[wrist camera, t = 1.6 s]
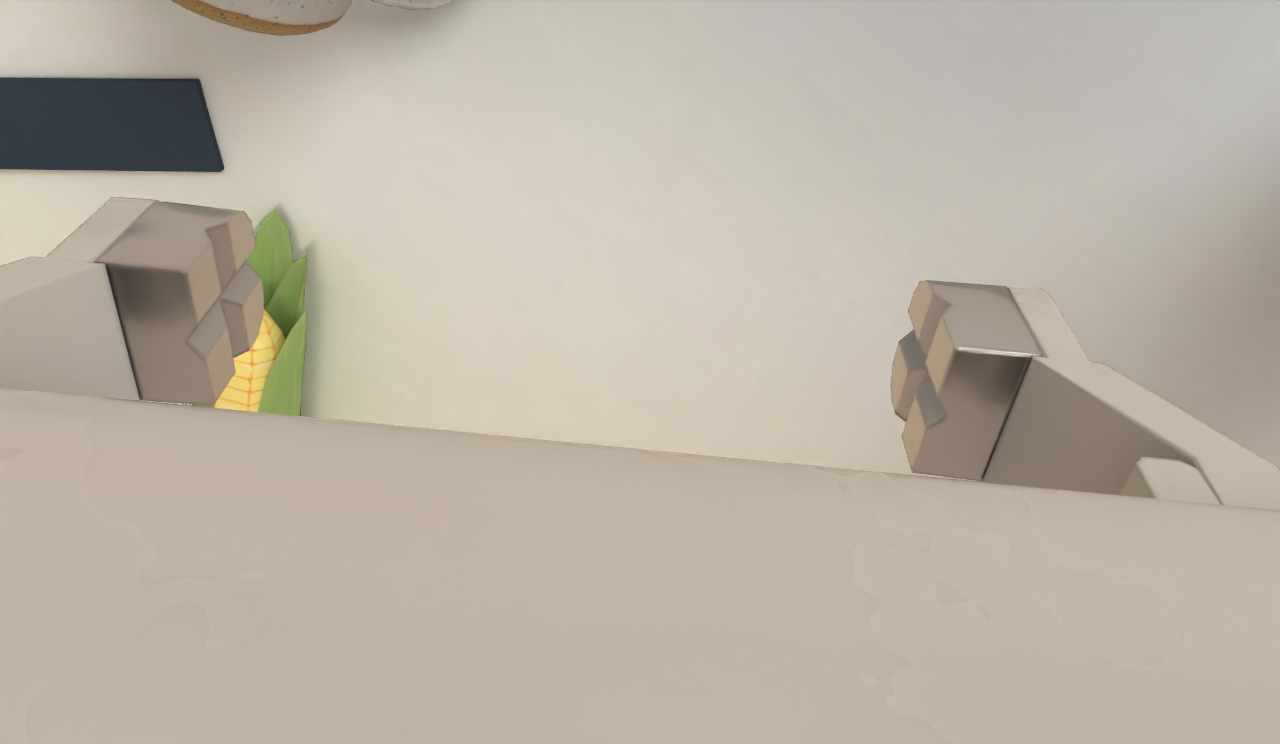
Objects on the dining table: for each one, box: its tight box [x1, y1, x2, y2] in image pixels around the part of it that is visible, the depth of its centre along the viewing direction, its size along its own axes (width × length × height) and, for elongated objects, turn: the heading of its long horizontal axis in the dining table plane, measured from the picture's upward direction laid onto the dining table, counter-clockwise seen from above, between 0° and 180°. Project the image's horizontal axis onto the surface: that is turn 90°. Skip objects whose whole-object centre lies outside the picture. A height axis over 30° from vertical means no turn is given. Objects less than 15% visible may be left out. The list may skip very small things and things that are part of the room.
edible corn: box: [192, 209, 307, 416], centre depth 42 cm, size 5×20×5 cm, turn 164°
